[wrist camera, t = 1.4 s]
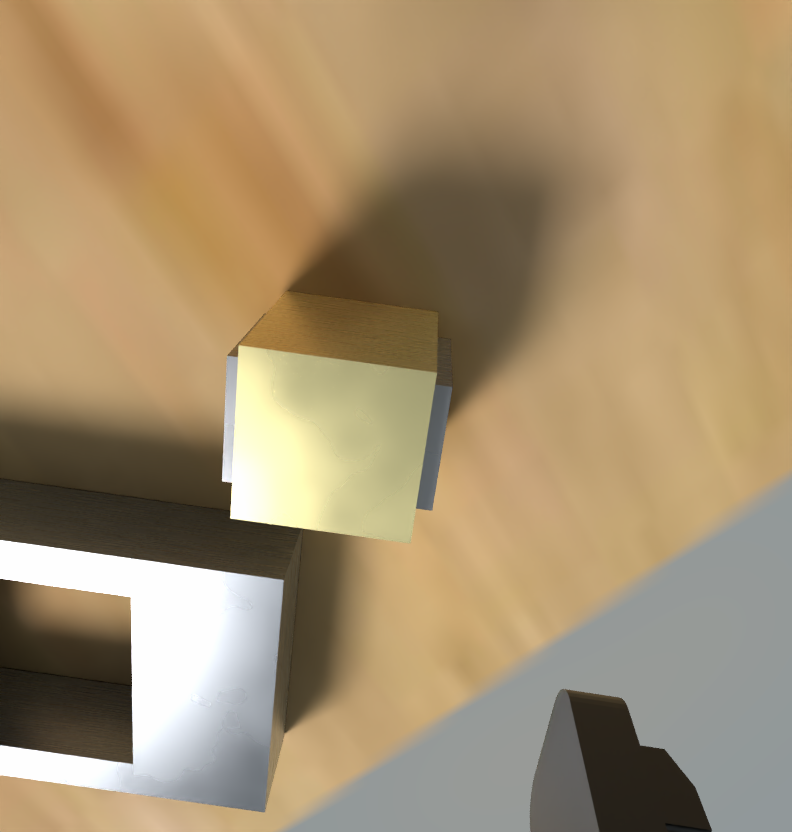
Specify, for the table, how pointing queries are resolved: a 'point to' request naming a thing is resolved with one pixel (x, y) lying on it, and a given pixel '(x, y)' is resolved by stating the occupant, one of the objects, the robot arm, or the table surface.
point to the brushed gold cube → (337, 416)
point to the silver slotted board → (156, 646)
